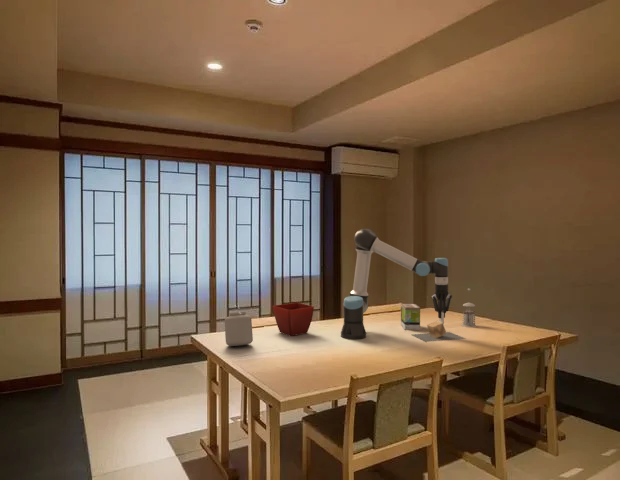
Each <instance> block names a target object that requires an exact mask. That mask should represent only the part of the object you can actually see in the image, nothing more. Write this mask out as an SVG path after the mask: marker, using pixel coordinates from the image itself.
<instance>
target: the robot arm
mask: <svg viewBox="0 0 620 480" xmlns="http://www.w3.org/2000/svg"><path fill="white" fill-rule="evenodd" d="M353 239H354V243H355V251H356V262H355V270H354V276H353V277H354V278H353V285H352V290H351V291H350V292H349V295H348V296H346V297H345V298H344V299H343V324H342V328H341V331H340V337H341V338H343V339H348V340H361V339H365V338H367V331H366V329H365V325H364V313H366V312H367V311H368V309H369V293H368V290H367V289H368V283H369V276H370V267H371V260H372V254H373V253H376V254H377V255H380V256H382V257H384V258H386V259H388V260H389V261H391V262H393V263H395V264H398V265H400V266H402V267H404V268H406V269H408V270H409V271H411V272H413V273H415V274H417V275H418V276H420V277H426V276H428V275H434V294H433V295H431V296H430V298H431V299H432V303H433V307H434V311H435V312H436V313H437V317H438V320H439V322H442V323H443V324H445V318H446V313H447V312H448V311H449V308H450V304H451V299H452V298H453V295H452V294H449V259H448V258H446V257H436V258H434V260H431V261H429V260H420V259H418V258H416V257H414V256H412V255H411V254H408V253H406V252H404V251H402V250H400V249H398V248H396V247H394V246H392V245H390V244H388V243H386V242H385V241H382V240H380V239H379V237H378V236H377V235H376V233H375V232H374V230H372V229H369V228H361V229H358V230H357V231H356V233H355V234H354V236H353Z"/></svg>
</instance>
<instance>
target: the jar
mask: <svg viewBox="0 0 620 480" xmlns="http://www.w3.org/2000/svg"><path fill="white" fill-rule="evenodd" d="M234 307H236V305H234ZM237 308H238V309H240V307H239V305H238V307H237ZM224 334H225V335H224V337H225V344H226V345H227V346H229V347H234V346H235V347H236V346H245V345H249V344H252V343H253V342H254V340H253V339H254V336H253V335H254V334H253V322H252V316H250V315H248V314H247V313H246V311H241V312H240V311H239V312H231V313H229V316H227V317H225V319H224Z"/></svg>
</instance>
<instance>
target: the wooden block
mask: <svg viewBox="0 0 620 480" xmlns="http://www.w3.org/2000/svg"><path fill="white" fill-rule="evenodd" d="M444 324H445V323H444ZM444 324H443V323H442V322H439V321H438V320H434V321H433V322H430V323H428V324H426V326H427V329H428V333H430V336H432V337H435V338H438V337H441V336H443V335H445V334H446V332H447V331H446V328H445V325H444Z"/></svg>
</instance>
